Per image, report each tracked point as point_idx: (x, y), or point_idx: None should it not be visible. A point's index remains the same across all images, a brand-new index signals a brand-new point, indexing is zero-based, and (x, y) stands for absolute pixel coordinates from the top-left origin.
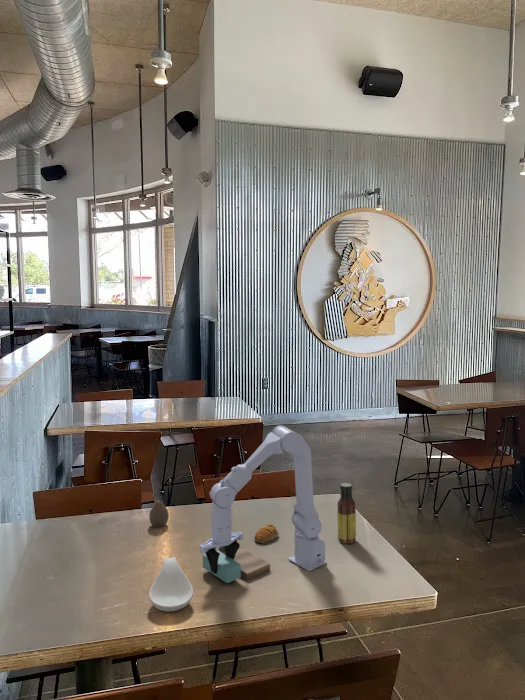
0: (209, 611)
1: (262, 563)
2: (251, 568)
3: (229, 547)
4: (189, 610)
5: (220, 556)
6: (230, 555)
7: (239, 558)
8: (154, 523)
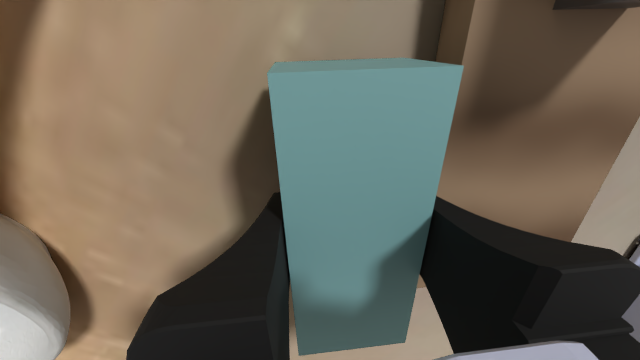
0: None
1: None
2: None
3: (476, 333)
4: (74, 317)
5: (383, 214)
6: (433, 277)
7: (525, 149)
8: None
